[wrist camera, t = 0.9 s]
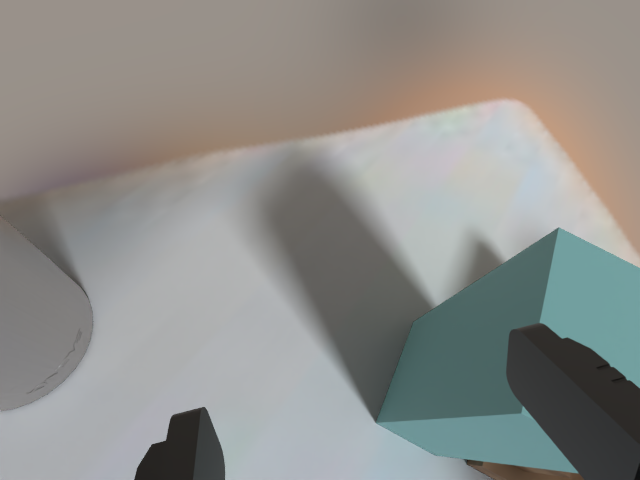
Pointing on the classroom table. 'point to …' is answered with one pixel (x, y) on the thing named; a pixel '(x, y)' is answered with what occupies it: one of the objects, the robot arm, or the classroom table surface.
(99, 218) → the classroom table surface
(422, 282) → the classroom table surface
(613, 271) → the book
